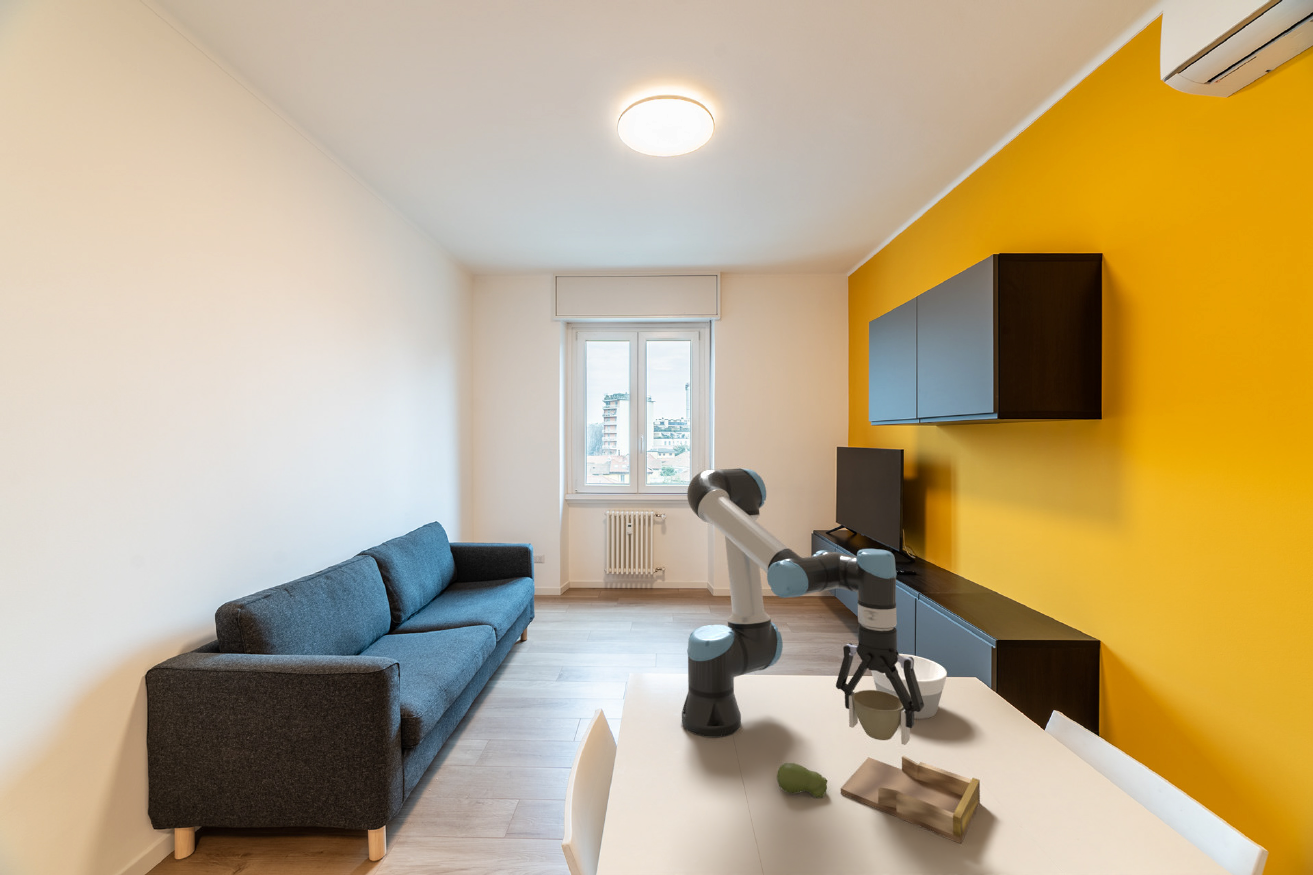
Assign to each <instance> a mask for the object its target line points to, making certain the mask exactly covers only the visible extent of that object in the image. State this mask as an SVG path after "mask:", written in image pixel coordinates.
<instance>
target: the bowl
mask: <svg viewBox="0 0 1313 875" xmlns="http://www.w3.org/2000/svg"><path fill="white" fill-rule="evenodd" d="M898 654H899V656H902V657H906V658H908V657H912V658H913V659H914V672H915V675H916V679H917V682H918V686H919V689H920V692H921V696H922V699H923V702H924V707H923V708H922V710H921V711H920V712H917V711H914V719H915V720H916V719H918V720H919V719H921V720H922V719H928V718H932V717H934V716H936V714H937V712H938V709H939V705H940V701H941V698H942V695H943V694H942V693H943V690H944V687H945V683H946V681H947V680H946V679H947V676H948V673H947V669H946V668H945V667H943V666H942V665H941V664H939V663H937V662H936V661H933V660H931V659H928V658H925V657H922V656H917V655H913V654H905V653H904V654H903V653H898ZM895 666H896V668H897V670H898V674H899V676H900V678H901V680H902V682H903V684H904V686H905V688H906V690H907V691H908V693H909V695H910V692H909V689H908V686H907V682H906V679H905V675H904V669H903V668H901V664H900V663H899V662H897V663H896V664H895ZM870 671H871V675H872V678H873V679H872V680H873V682H874V686H875V690H879V691H884V692H888V693H891V694H893V695H896V696H898V695H897V694H896V692H895V690H894V688H893V686H892V684H891V682H890V680H889V679H888V678H887V677H886V675H885V673H884V674H883V673H880V672H878V671H872V670H870ZM910 697H911V696H910Z"/></svg>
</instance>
